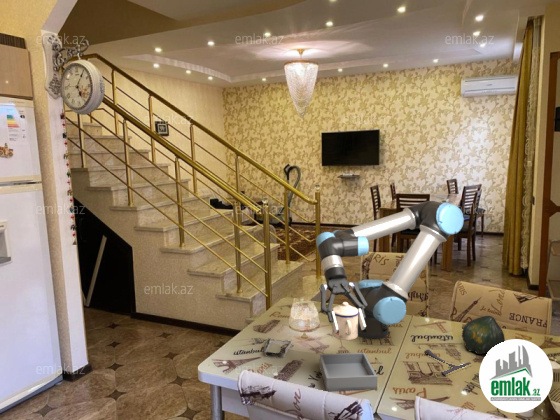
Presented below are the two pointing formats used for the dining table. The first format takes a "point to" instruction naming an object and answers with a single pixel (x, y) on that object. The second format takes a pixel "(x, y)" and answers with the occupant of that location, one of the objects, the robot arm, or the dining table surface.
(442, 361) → the dark grey rake
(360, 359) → the tray
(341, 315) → the teacup with lid
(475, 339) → the squash
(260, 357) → the dining table surface
